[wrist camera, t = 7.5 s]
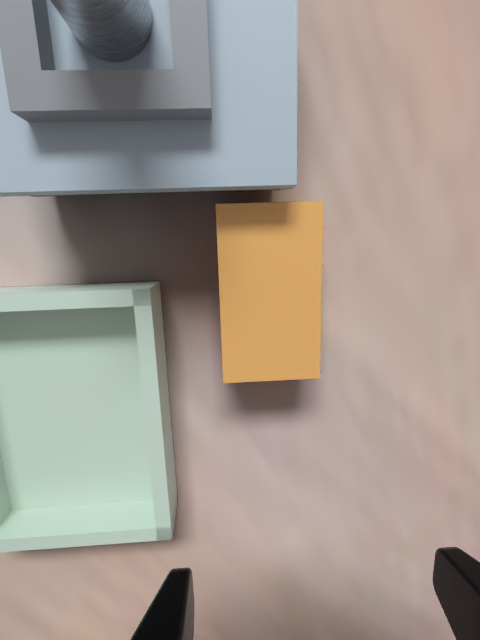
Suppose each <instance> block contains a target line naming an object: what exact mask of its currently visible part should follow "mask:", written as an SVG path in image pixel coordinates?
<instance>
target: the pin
mask: <svg viewBox="0 0 480 640" xmlns="http://www.w3.org/2000/svg"><path fill="white" fill-rule="evenodd" d="M50 1H51V2H52V4H53V5H54V7H55V8H56V9H57V11H58V12H59V14H60V15H61V17H62V18H63V19H64V21H65V22H66V24H67V25H68V26H69V28H70V29H71V31H72V32H73V34H74V35H75V36H76V38H77V39H78V41H79V42H80V43H81V45H82V46H83V47H84V48H85V49H86V50H87V51H88V52H89V53H90V54H92V55H93V56H95V57H97V58H99V59H101V60H104V61H108V62H123V61H127V60H129V59H132V58H133V57H135V56H136V55H138V54H139V53H140V52H141V51H142V50H143V49H144V47H145V46H146V44H147V42H148V40H149V38H150V35H151V31H152V26H153V14H152V8H151V4H150V0H50Z"/></svg>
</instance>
